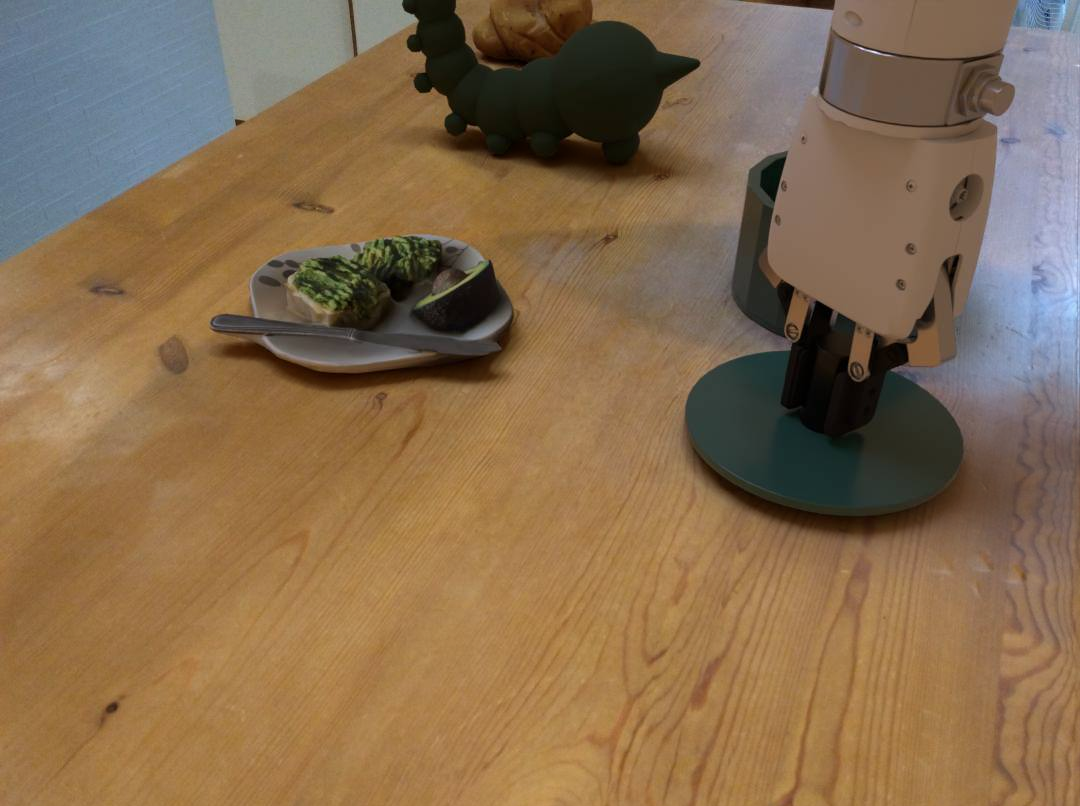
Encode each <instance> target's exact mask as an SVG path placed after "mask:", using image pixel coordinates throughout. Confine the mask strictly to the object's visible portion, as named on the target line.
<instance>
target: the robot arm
mask: <svg viewBox="0 0 1080 806" xmlns="http://www.w3.org/2000/svg"><path fill="white" fill-rule="evenodd" d="M1018 3H1019V0H834V5H833V11H832V16H831V21H830V27H829V31H828V37H827V41H826V48H825V52H824V58H823V63H822V68H821V74H820V79H819V83H818V85H816V86H815V87H813V88H812V89H811V91H810V92H809V94H808V97H807V99H806V101H805V104H804V106H803V107H802V111H801V113H800V116H799V119H798V122H797V125H796V127H795V129H794V133H793V136H792V139H791V142H790V145H789V147H788V150H789V151H788V150H787V151H788V154H787V158H786V161H785V165H784V169H783V172H782V176H781V180H780V184H779V188H778V192H777V196H776V200H775V205H774V210H773V215H772V220H771V225H770V232H769V240H768V245H767V247H766V248H765V250H764V251H763V252H762V254H761V255H760V257H759V266H760V268H761V270H762V271H763V273H764V274H765V275H766V277H767V278H768V280H769V281H770V282H771V284H772V285H773V287H774V288H775V289H776V288H777V295H778V298H779V300H780V303H781V305H782V308H783V310H784V313H785V315H786V318H787V319H786V323H785V327H784V332H785V336H786V337H785V338H786V339H787V340H788V341H789V342H790V343H791V346H790V350H791V351H790V356H789V360H788V365H787V370H786V375H785V382H784V387H783V392H782V397H781V402H780V403H781V405H782V406H784V407H785V408H787V409H795V408H797V407H799V406H802V403H803V399H804V395H805V390H806V386H807V381H808V377H809V372H810V368H811V363H812V359H813V355H814V350H815V346H816V341H817V339H818V338H819V337H820V336H821V335H824V334H827V333H837V332H835V331H831V330H832V328H833V327H834V325H835V322H836V318H837V315H838V312H839V313H840V314H842V315H844V316H846V317H847V318H849V319H851V320H853V321H854V322H856V326H855V331H854V337H853V342H852V347H851V353H850V358H849V363H848V370H846V371H843V372H841V373H839V374H838V375H837V376H836V378H835V382H834V386H833V391H832V395H831V399H830V403H829V407H828V411H827V415H826V419H825V423H824V428H823V430H824V434H825V435H827V436H828V437H830V438H831V439H835V438H838V437H840V436H842V435H844V434H847V433H849V432H851V431H853V430H856V429H858V428H860V427H862V426H865V425H866V424H868V423H869V422H870V421H871V420H872V418H873V417H874V414H875V411H876V408H877V404H878V401H879V397H880V393H881V390H882V386H883V383H884V379H885V375H886V372H887V371H889V370H890V371H892V370H894V369H897V368H898V367H909V368H937V367H939V366H942V365H944V364H947V363H949V362H951V361H953V360H955V359H956V356H957V353H958V352H957V351H958V350H957V341H956V340H957V339H956V331H955V321H954V320H955V319H957V318H958V317H959V316H960V315H961V314H962V312H963V310H964V309H965V306H966V303H967V300H968V298H969V294H970V291H971V287H972V284H973V281H974V280H973V279H974V276H975V273H976V270H977V267H978V262H979V257H980V255H981V254H980V253H981V249H982V246H983V241H984V236H985V233H986V227H987V222H988V219H989V218H988V217H989V213H990V207H991V202H992V195H993V189H994V181H995V175H996V164H997V151H998V150H997V149H998V126H997V125H996V124H994V123H992V122H990V121H988V120H986V119H984V118H985V116H987V115H988V114H989V115H992V116H995V117H1000V116H1002V115H1004V114H1005V113H1006V112H1008V110H1009V109H1010V107H1011V105H1012V104H1013V101H1014V99H1015V93H1016V88H1015V86H1014V85H1013V84H1012V83H1010V82H1008V81H1004V80H1003V78H1002V77H1001V76H1000V71H1001V68H1002V64H1003V62H1004V58H1005V54H1003V53H1004V49H1005V46H1006V44H1007V41H1008V37H1009V34H1010V30H1011V27H1012V24H1013V20H1014V17H1015V13H1016V10H1017V8H1018V7H1017V6H1018ZM915 322H916V323H917V332H918V337H916V336H910V337H908V336H909V335H910V333H911V332H912V329H913V327H914V325H915ZM878 337H880V341H879V338H878ZM878 342H879V346H878ZM877 347H878V350H877Z"/></svg>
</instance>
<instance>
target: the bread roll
mask: <svg viewBox="0 0 1080 806" xmlns="http://www.w3.org/2000/svg"><path fill="white" fill-rule="evenodd" d="M593 12H594V5H593V2H592V0H491V2H490V4H489V14H488V15H484V16H483V17H482V18H480V19H479V20H478V21H477V22H476V23H475V25H474V26H473V29H472V31H471V35H472V36H471V37H472V42H473V45H474V46H475V49H477V50H478V51H479V52H480V53H481V54H483V55H485V56H488V57H490V58H494V59H498V60H503V61H504V60H505V61H513V60H519V61H521V62H526V63H530V62H532V61H534V60H536V59H539V58H543V57H556V56H557V54H558V53H559V51H560V49H561V48H562V46H563V45H564V43H565V42H566V41H567V40H568V39H569V38H570V37H571V36H572V35H573V34H574V33H576V32H577V31H578V30H580V29H582V28H584V27H586V26H588V25H590V24H592V23H593Z"/></svg>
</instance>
